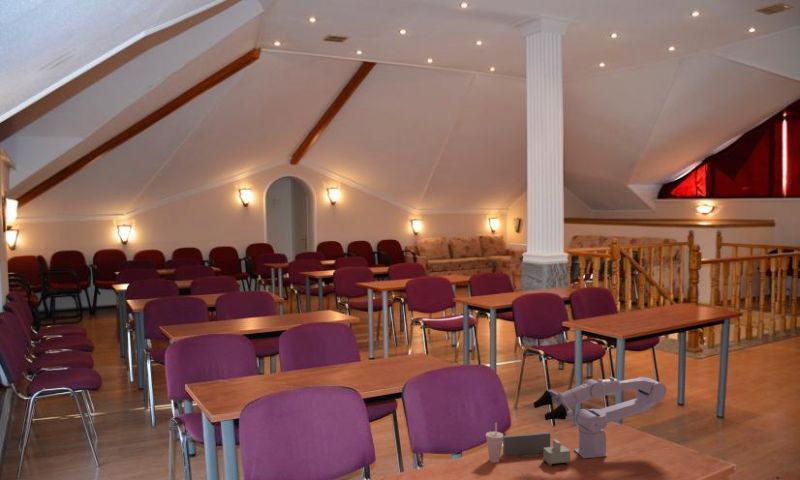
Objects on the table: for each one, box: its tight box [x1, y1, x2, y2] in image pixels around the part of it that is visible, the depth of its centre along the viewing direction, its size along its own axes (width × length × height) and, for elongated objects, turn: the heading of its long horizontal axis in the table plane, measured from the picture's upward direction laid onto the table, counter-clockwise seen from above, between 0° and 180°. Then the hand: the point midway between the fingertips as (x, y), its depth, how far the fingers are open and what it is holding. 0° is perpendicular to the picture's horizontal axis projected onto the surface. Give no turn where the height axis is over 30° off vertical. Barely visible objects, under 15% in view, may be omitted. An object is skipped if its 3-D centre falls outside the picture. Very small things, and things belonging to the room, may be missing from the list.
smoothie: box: [485, 422, 504, 464], centre depth 247 cm, size 6×6×14 cm
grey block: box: [542, 438, 571, 468], centre depth 245 cm, size 8×5×8 cm, turn 102°
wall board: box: [502, 431, 551, 459], centre depth 253 cm, size 18×4×7 cm, turn 102°
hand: (539, 411), depth 246 cm, fingers open, 7 cm apart
